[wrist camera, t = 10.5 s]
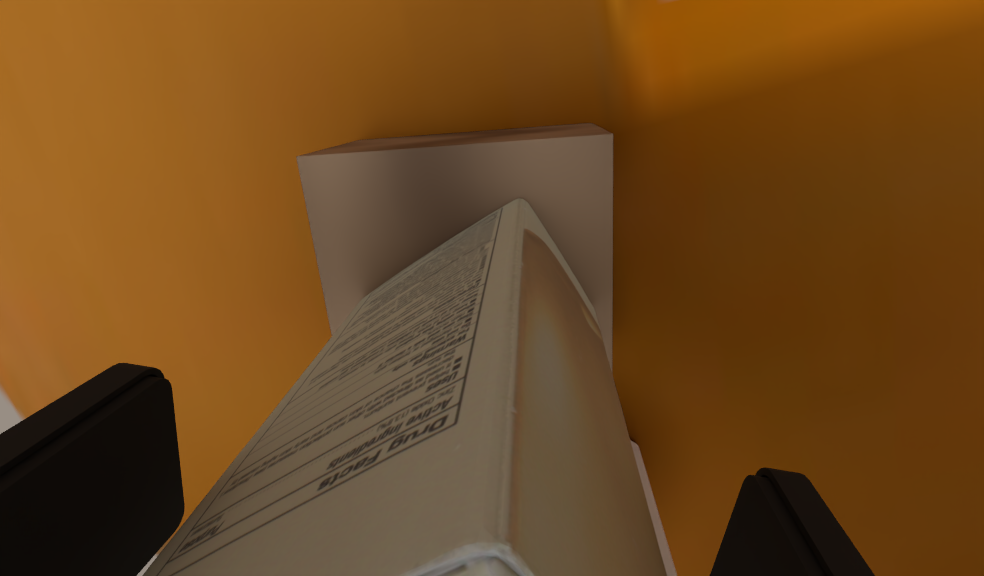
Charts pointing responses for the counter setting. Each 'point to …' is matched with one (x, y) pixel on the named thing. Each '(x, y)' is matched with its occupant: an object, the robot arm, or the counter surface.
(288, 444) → the skincare box
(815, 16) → the counter surface
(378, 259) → the brown square block
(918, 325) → the counter surface
